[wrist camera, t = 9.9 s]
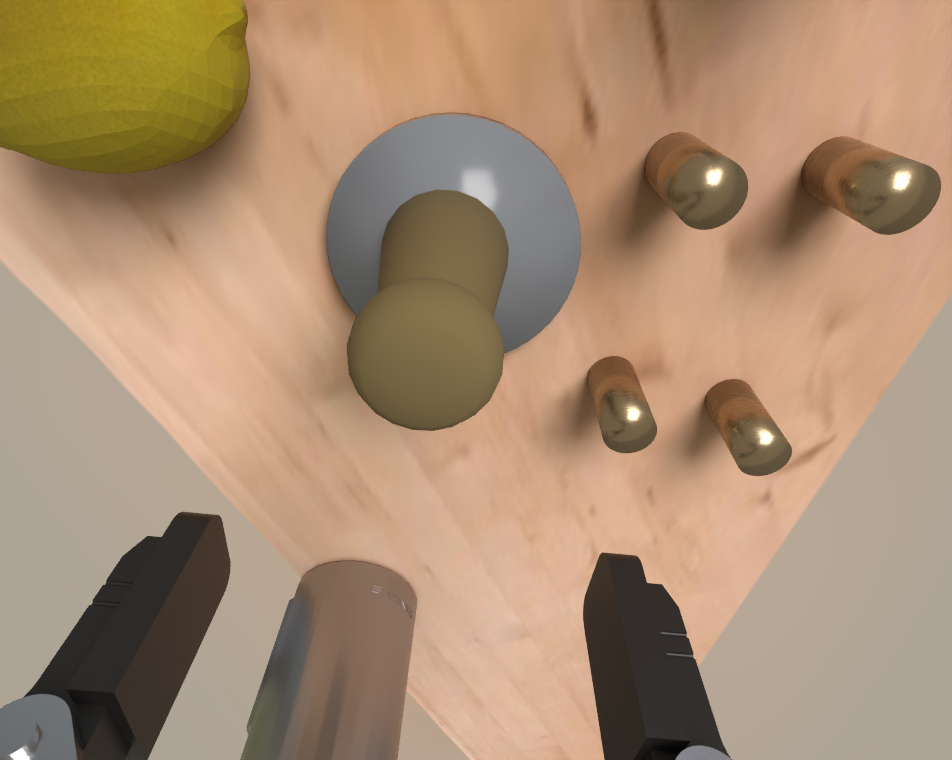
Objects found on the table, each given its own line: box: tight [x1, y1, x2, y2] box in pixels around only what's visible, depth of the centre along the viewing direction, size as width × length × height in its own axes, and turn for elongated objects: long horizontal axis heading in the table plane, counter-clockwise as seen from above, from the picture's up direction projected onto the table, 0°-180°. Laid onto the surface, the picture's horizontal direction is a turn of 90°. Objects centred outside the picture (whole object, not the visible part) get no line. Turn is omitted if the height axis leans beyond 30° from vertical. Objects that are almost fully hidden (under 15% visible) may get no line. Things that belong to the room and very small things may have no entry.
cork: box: [347, 189, 509, 431], centre depth 22 cm, size 6×6×11 cm
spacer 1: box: [588, 356, 657, 453], centre depth 29 cm, size 3×3×5 cm
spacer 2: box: [645, 132, 748, 230], centre depth 23 cm, size 3×3×5 cm
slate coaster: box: [326, 113, 581, 353], centre depth 27 cm, size 12×12×1 cm
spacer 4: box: [802, 137, 941, 235], centre depth 23 cm, size 3×3×5 cm
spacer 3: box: [705, 379, 792, 476], centre depth 30 cm, size 3×3×5 cm
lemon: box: [0, 0, 250, 174], centre depth 19 cm, size 11×8×8 cm
